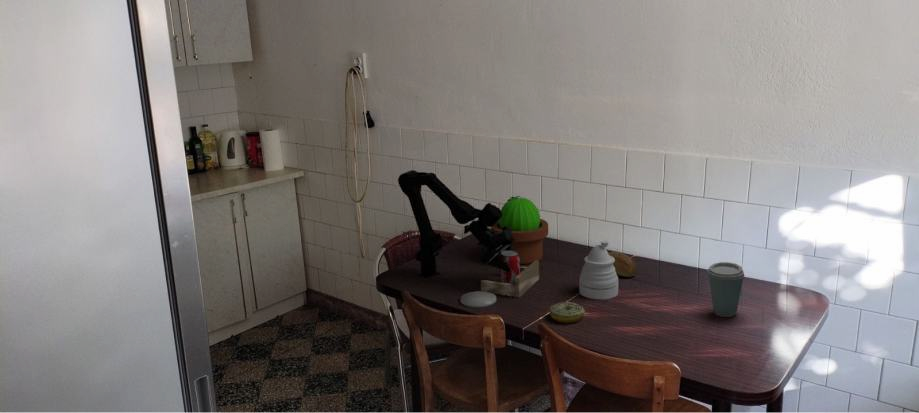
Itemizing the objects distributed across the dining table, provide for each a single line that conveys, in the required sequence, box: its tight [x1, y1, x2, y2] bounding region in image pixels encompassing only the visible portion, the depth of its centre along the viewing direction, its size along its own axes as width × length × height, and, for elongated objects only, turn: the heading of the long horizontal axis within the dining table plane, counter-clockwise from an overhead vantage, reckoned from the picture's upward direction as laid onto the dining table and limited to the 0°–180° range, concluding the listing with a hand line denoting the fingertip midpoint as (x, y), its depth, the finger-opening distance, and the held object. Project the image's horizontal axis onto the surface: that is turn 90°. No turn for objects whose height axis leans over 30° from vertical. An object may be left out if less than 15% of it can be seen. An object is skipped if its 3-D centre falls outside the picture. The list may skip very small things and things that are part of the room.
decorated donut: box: [549, 301, 586, 324], centre depth 215 cm, size 10×11×4 cm
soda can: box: [499, 250, 521, 284], centre depth 242 cm, size 7×7×12 cm
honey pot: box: [578, 240, 619, 300], centre depth 232 cm, size 13×13×18 cm
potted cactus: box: [490, 195, 549, 265], centre depth 269 cm, size 22×22×25 cm
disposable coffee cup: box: [706, 261, 745, 318], centre depth 211 cm, size 11×11×15 cm
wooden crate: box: [480, 260, 540, 298], centre depth 243 cm, size 14×18×7 cm
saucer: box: [460, 290, 497, 308], centre depth 232 cm, size 12×12×1 cm
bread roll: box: [608, 251, 638, 278], centre depth 249 cm, size 10×15×8 cm, turn 48°
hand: (513, 268), depth 242 cm, fingers closed on soda can, 7 cm apart
